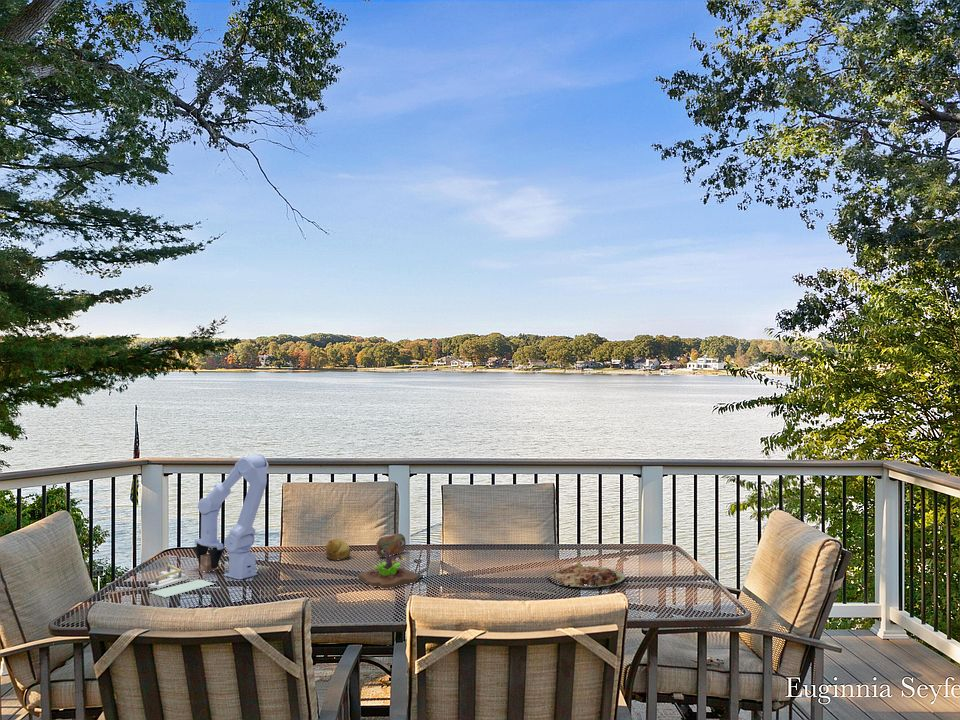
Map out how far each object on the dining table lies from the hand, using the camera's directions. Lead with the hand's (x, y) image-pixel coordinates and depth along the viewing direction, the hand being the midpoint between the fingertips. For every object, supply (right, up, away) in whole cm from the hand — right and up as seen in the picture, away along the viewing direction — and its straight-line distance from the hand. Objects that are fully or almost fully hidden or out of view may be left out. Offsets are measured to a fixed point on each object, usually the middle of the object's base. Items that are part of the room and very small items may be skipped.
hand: (208, 566), depth 266 cm
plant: (+68, -3, -10) cm, 69 cm away
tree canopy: (+65, -3, +26) cm, 70 cm away
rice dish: (+140, -3, -7) cm, 140 cm away
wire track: (-11, -1, -13) cm, 17 cm away
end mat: (0, -1, -23) cm, 23 cm away
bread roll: (+44, -3, +22) cm, 49 cm away
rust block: (0, -2, 0) cm, 2 cm away
